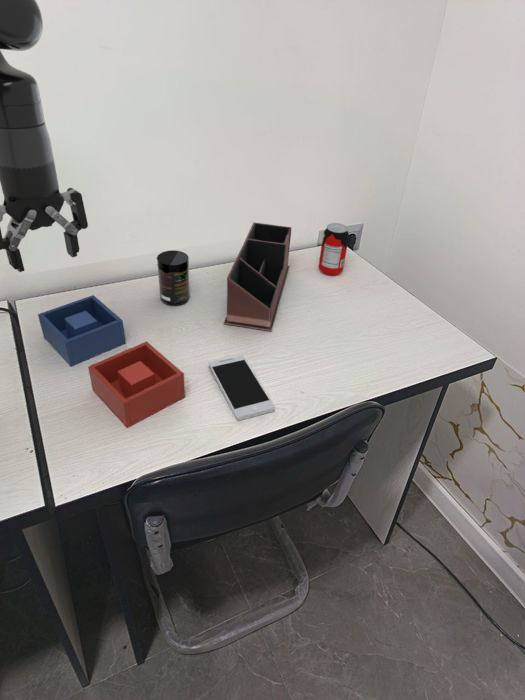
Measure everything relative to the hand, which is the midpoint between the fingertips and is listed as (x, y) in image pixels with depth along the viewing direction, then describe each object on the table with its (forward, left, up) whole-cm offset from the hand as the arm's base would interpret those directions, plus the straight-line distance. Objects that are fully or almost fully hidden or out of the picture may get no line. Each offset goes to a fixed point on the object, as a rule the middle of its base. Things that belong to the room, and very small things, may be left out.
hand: (47, 262), depth 78 cm
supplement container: (+29, +8, -22) cm, 37 cm away
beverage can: (+68, -5, -22) cm, 72 cm away
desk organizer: (+46, -2, -22) cm, 51 cm away
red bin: (+6, -14, -22) cm, 27 cm away
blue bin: (+6, +6, -22) cm, 23 cm away
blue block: (+6, +6, -21) cm, 23 cm away
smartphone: (+21, -24, -22) cm, 39 cm away
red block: (+6, -14, -21) cm, 26 cm away
